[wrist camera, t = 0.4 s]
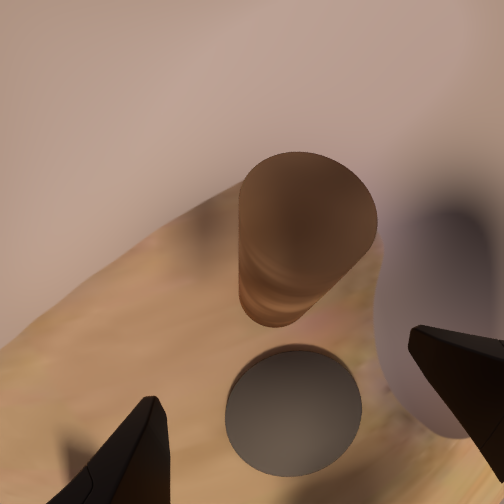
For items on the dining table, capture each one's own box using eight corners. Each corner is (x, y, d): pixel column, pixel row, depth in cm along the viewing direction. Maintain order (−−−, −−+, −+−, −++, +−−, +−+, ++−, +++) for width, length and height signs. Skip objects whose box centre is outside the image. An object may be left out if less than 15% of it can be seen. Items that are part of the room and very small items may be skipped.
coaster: (381, 397, 19) (384, 397, 18) (300, 493, 15) (302, 496, 15) (286, 324, 22) (288, 323, 21) (196, 423, 18) (195, 424, 17)
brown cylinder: (322, 288, 23) (396, 203, 11) (279, 342, 21) (331, 304, 9) (269, 246, 25) (294, 134, 13) (223, 295, 23) (207, 206, 11)
